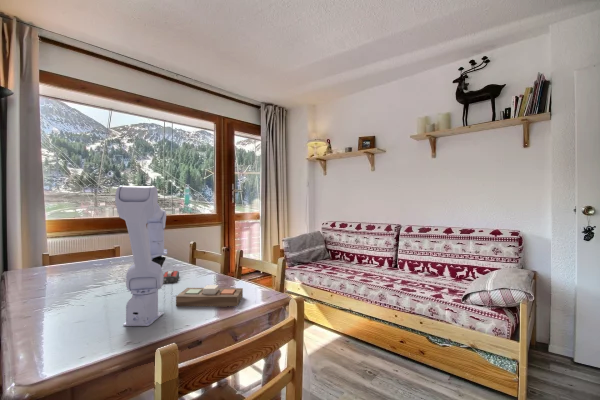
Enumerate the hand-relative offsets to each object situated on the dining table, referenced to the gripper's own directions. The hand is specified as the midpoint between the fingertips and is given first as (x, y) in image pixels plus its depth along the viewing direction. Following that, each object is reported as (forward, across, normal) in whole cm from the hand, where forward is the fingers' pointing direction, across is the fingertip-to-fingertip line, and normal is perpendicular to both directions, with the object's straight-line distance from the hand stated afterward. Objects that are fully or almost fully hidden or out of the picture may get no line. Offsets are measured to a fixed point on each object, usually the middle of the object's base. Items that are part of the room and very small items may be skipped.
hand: (155, 277), depth 106 cm
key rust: (+8, +2, -26) cm, 28 cm away
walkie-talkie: (+10, +27, +8) cm, 30 cm away
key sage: (+8, +2, -13) cm, 16 cm away
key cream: (+6, +2, -20) cm, 21 cm away
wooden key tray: (+9, +2, -20) cm, 22 cm away
